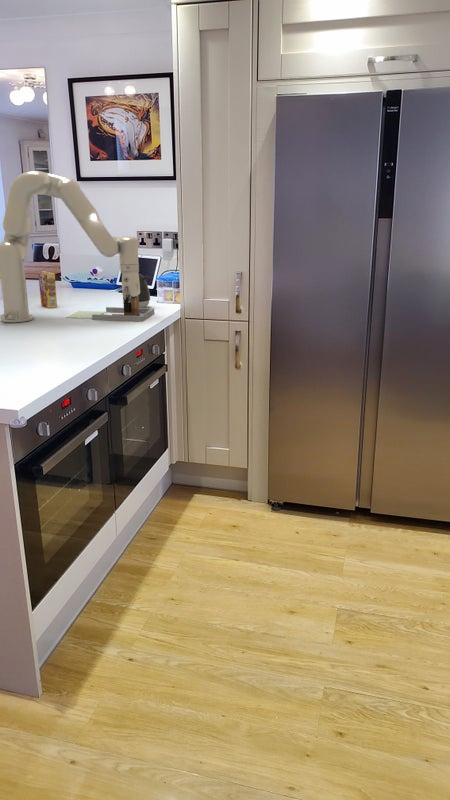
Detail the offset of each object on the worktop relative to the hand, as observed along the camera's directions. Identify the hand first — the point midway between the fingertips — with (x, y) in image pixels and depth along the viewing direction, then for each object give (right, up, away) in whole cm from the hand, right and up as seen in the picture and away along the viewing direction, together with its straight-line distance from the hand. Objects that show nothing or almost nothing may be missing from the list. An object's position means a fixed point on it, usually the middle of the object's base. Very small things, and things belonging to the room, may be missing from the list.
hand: (131, 310), depth 259 cm
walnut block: (-3, -2, +1) cm, 4 cm away
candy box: (-41, +5, +23) cm, 47 cm away
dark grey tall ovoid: (0, +4, +20) cm, 20 cm away
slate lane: (-3, -2, +1) cm, 4 cm away
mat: (-20, -2, +4) cm, 20 cm away
